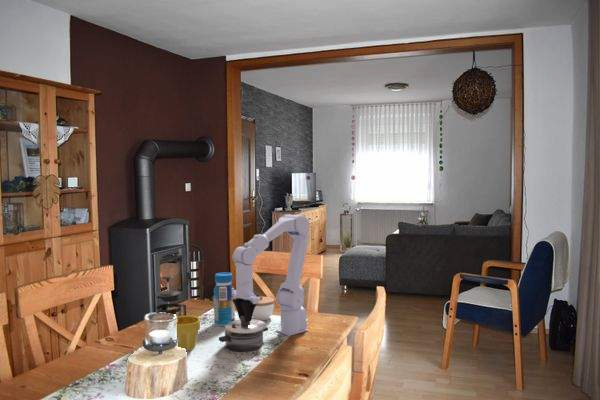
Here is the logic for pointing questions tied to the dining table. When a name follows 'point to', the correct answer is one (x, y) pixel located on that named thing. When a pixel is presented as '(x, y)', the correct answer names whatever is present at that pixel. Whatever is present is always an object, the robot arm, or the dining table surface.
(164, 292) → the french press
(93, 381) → the dining table surface
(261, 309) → the lidded jar
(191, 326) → the plant pot
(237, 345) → the cooking pot
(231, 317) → the beverage bottle
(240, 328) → the lid
